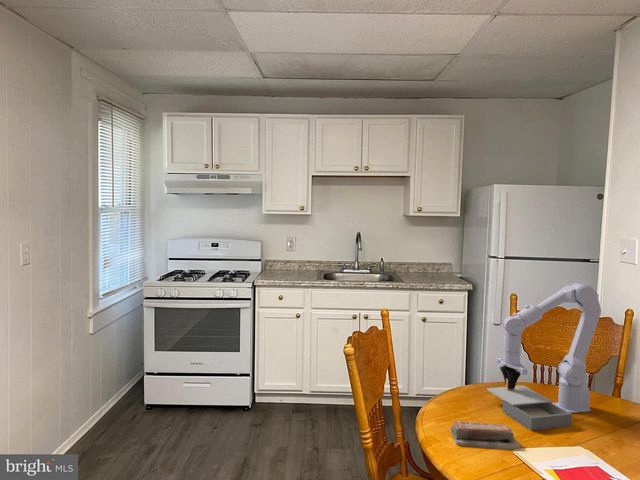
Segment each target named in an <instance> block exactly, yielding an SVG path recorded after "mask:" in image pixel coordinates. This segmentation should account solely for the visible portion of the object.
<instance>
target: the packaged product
mask: <svg viewBox="0 0 640 480" xmlns="http://www.w3.org/2000/svg"><path fill="white" fill-rule="evenodd" d="M449 430H450V433H451V436H452V438H453V441H454V443H455V445H456V446H462V447H473V448H474V447H475V448H486V449H499V450H500V449H501V450H515V449H519V450H520V448H521V445H520V444H519V443H518V441H517V440H516V439H515V438H514V437H515V436H514V434H515V433H514V432H513V430H512V428H511V427H510V426H508V425H506V424H498V423H485V422H474V421H473V422H472V421H462V420H460V421H459V420H455V421H454V422H453V424H452V425H451V427H450V428H449Z"/></svg>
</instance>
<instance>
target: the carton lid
mask: <svg viewBox="0 0 640 480" xmlns="http://www.w3.org/2000/svg"><path fill="white" fill-rule="evenodd" d="M486 391H488V392H490V393H491V394H493V395H495V396H496V397H498V398H499V399H501V400H502V401H503V400H504V401H506V402H508V403H509V404H511V405H512V406H516V405H527V404H538V403H548V402H550V403H553V401H552V399H550V398H548V397H546V396H544V395H543V394H541V393H538V392H536V391H535V390H533V389H531V388H529V387H527V386H525V385H516V386H515V388H514V389H509V388H508V378H507V379H506V385H505V386H499V387H487V388H486Z"/></svg>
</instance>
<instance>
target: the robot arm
mask: <svg viewBox="0 0 640 480" xmlns="http://www.w3.org/2000/svg"><path fill="white" fill-rule="evenodd" d="M599 296H600V295H599V294H598V292H597V291H596V290H595V289H594V288H593V287H592V286H590V285H587V284H585V283H582V282H580V281H574V282H571V283H570V284H568V285H565V286H563V287H562V288H561V289H560V290H558V291H557V292H555V293H554V294H552V295H550V296H549V297H547V298H546V299H545V300H543V301H541V302H540V303H538V304H537V305H535V304H530V305H529V304H526V305H525V306H524V308H523V309H522V310H519V311H518V312H517V313H516V312H514V313H512V315H509V316H507V317H505V318H504V320H503V322H502V327H503V329H504V334H503V335H504V336H503V347H502V348H503V349H502V351H503V352H502V353H503V354H502V356H496V363H500V365H501V366H500V367H499V369H500V371H501V373H502V377H503V379H504V384H505V386H506V379H507V378H508V388H509V389H514V388H515V386H517V382H518V380H519V378H520V376H521V375H523V376H525V375H528V368H527V367H525V366H523V364H522V363H521V355H522V354H521V353H522V351H521V349H522V345H521V344H522V333H523V332H524V331H525V329H526V328H528V327H529V326H531V325H533V324H535V323H536V322H538V321H540V320H542V319H543V315H544V313H546V312H548V311H551V310H552V309H554V308H556V307H559V306H560V305H561V304H564V303H571V304H572V303H573V304H575V303H577V305H578V307H579V308H580V309H581V311H582V313H581V316H580V318H579V322H578V325H577V327H576V329H575V330H576V331H575V334H574V336H573V340H572V342H571V345H570V348H569V350H568V351H569V352H568V353H567V354H566V355H564V357H563V360H562V361H561V362H560V363H559V364H558V367H557V372H558V374H559V375H560V378H559V380H558V383H559V384H558V396H557V398H558V401H557V402H551V403H552V404H554V405H556V406H558V407H560V408H561V409H563V410H565V411H567V412H569V413H571V414H576V413H587V412H591V411H592V409H591V408H590V402H591V401H590V399H591V398H590V397H591V392H590V388H589V386H588V384H586V383H585V382H586V378H587V377H586V369H587V365H586V357H587V355H588V352H589V350H590V347H591V343H592V340H593V338H594V335H595V332H596V329H597V326H598V323H599V320H600V317H601V313H602V309H601V308H602V307H601V304H600V301H599Z"/></svg>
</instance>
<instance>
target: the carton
mask: <svg viewBox="0 0 640 480" xmlns="http://www.w3.org/2000/svg"><path fill="white" fill-rule="evenodd" d="M552 403H553V402H548V403H538V404H527V405H516V406H512V405H511V404H509V403H508V402H506V401H504V400H503V399H502V411H501V412H502V413H503V414H505V415H506V416H508V417H510V418H511V419H513V420H514V421H516V422H517V423H519V424H520V425H522V426H523V427H524V428H526V429H528V430H529V431H531V432H532V431H539V430H540V431H542V430H550V429H559V428H567V427H568V428H569V427H572V418H573V417H572V415H573V413H569V412H567V411H565V410H563V409H561V408H560V407H558V406H556V405H554V404H552Z"/></svg>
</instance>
